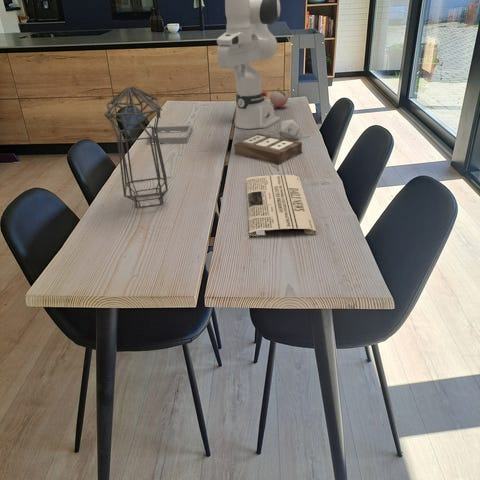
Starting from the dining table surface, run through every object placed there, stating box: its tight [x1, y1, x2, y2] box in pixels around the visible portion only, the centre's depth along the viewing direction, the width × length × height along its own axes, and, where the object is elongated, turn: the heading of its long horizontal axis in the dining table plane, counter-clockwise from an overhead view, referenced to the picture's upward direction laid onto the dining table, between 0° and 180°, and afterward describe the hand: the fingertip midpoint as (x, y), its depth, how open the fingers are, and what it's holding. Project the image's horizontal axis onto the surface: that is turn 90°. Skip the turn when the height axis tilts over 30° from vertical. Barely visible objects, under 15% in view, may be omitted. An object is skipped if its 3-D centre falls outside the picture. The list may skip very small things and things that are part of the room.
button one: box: [256, 138, 279, 148], centre depth 174 cm, size 9×4×3 cm, turn 140°
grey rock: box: [276, 118, 301, 141], centre depth 187 cm, size 8×9×10 cm
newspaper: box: [245, 174, 317, 238], centre depth 136 cm, size 37×19×3 cm, turn 1°
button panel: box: [233, 133, 303, 166], centre depth 175 cm, size 15×21×4 cm
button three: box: [243, 134, 266, 145], centre depth 178 cm, size 9×4×3 cm, turn 140°
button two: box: [270, 141, 293, 151], centre depth 171 cm, size 9×4×3 cm, turn 140°
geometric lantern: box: [103, 85, 169, 209], centre depth 135 cm, size 16×16×35 cm
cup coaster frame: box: [146, 125, 194, 144], centre depth 198 cm, size 17×17×2 cm
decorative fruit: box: [269, 88, 289, 109], centre depth 230 cm, size 9×8×10 cm
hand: (241, 77), depth 169 cm, fingers closed
